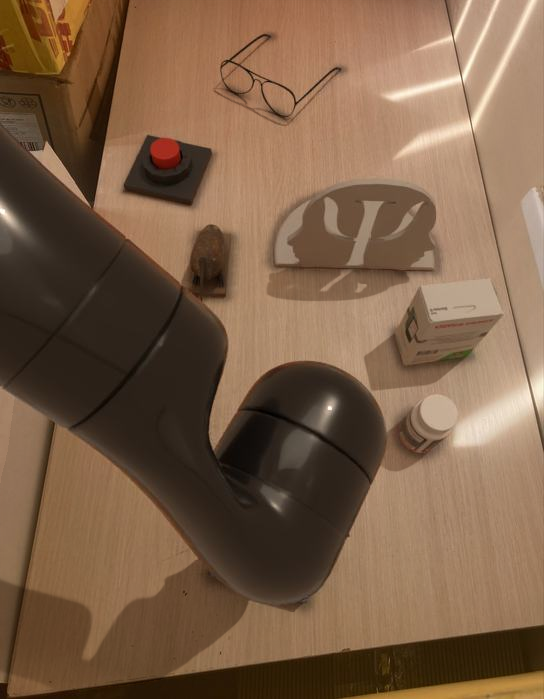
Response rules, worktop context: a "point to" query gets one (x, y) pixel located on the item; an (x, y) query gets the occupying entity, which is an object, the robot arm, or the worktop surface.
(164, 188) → the button base
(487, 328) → the ink box
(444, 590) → the worktop surface
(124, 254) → the robot arm
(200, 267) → the figurine
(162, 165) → the button
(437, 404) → the pill bottle
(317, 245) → the psi symbol sculpture
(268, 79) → the glasses
